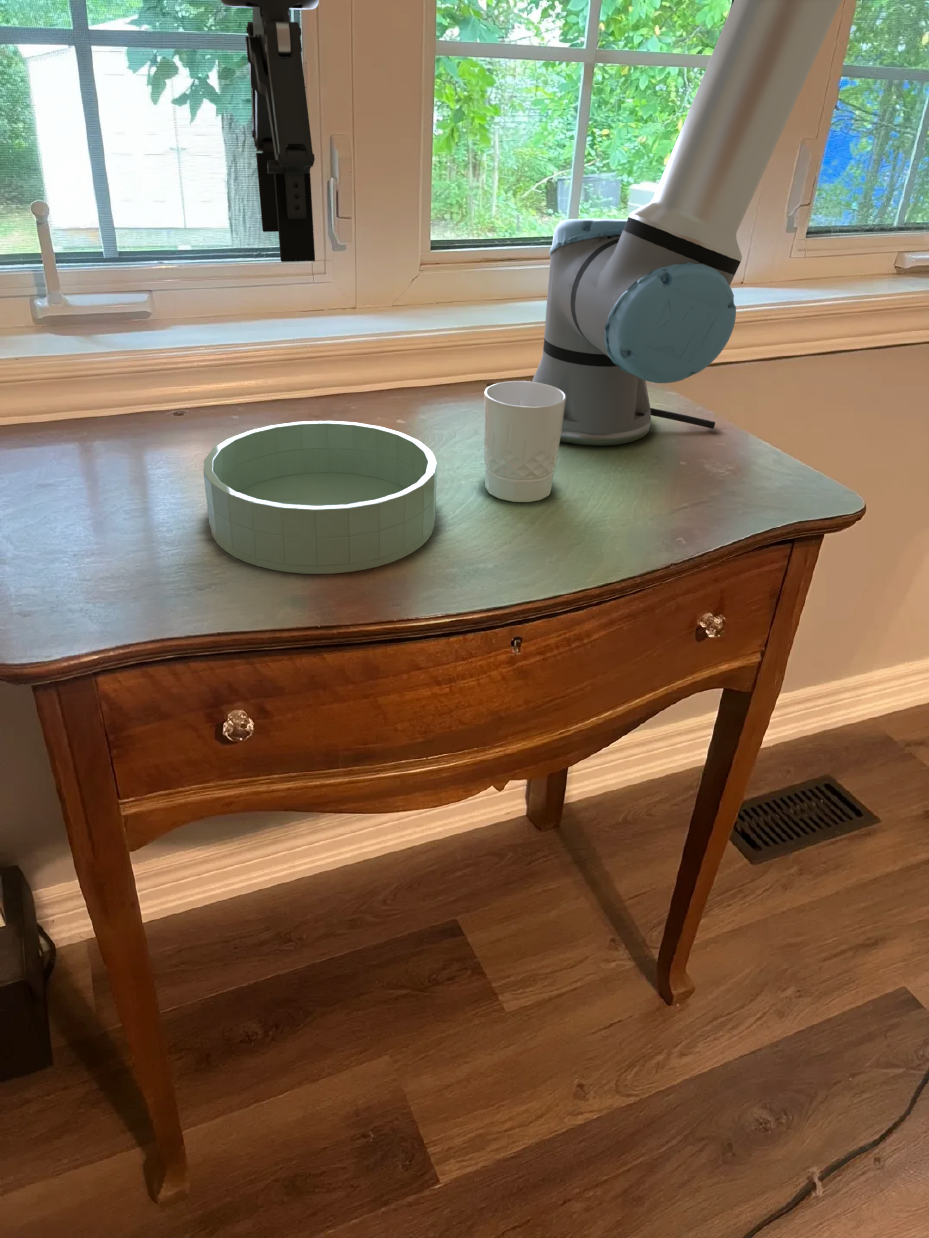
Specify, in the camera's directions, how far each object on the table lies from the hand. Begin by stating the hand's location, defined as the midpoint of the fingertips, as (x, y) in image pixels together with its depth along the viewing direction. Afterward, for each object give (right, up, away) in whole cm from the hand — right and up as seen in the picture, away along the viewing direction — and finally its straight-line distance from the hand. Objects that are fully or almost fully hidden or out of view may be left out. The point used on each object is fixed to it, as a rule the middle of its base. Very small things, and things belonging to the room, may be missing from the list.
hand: (287, 245), depth 82 cm
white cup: (+21, -20, +14) cm, 32 cm away
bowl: (+2, -23, +6) cm, 24 cm away
